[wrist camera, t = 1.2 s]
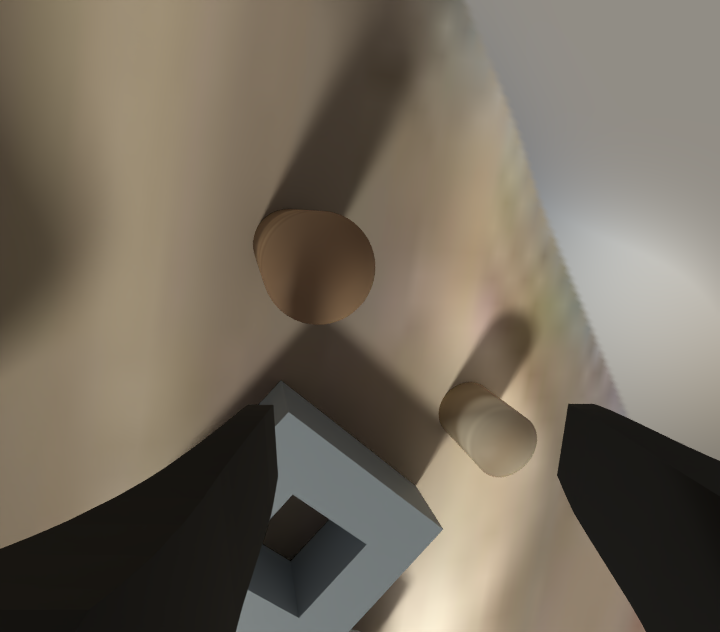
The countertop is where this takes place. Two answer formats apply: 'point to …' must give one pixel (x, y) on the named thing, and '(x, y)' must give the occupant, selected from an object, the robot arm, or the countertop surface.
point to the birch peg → (487, 429)
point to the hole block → (333, 527)
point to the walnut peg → (314, 264)
